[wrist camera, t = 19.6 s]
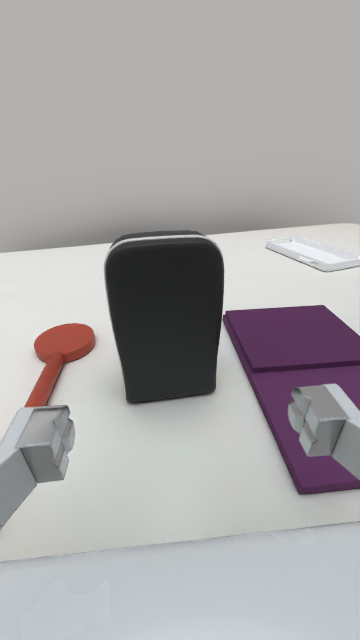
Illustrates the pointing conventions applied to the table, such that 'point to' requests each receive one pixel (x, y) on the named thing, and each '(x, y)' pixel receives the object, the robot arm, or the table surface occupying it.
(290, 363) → the cloth
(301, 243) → the phone case
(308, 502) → the table surface
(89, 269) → the table surface
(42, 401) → the spoon
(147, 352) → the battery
